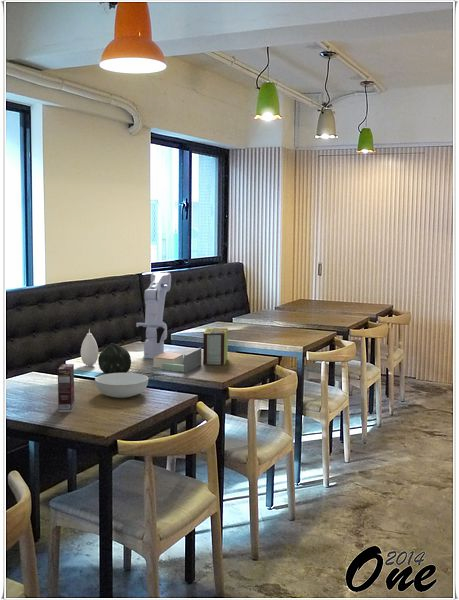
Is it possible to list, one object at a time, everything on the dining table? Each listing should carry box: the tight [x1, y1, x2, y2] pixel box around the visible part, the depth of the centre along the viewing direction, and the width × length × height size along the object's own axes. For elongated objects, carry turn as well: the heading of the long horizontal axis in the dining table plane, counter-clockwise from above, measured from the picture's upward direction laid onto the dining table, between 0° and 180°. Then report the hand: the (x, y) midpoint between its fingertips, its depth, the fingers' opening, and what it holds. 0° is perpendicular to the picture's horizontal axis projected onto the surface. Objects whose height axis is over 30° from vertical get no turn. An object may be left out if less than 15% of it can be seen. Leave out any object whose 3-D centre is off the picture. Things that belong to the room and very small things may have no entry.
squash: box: [97, 342, 132, 375], centre depth 295 cm, size 14×15×15 cm
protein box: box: [202, 327, 229, 366], centre depth 323 cm, size 10×15×16 cm
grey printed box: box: [161, 347, 203, 373], centre depth 310 cm, size 12×18×8 cm
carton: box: [152, 351, 184, 369], centre depth 313 cm, size 10×12×5 cm
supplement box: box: [57, 363, 76, 413], centre depth 240 cm, size 9×5×16 cm, turn 5°
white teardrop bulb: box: [80, 328, 99, 368], centre depth 308 cm, size 8×8×18 cm
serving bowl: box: [94, 372, 149, 399], centre depth 261 cm, size 21×21×7 cm
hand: (150, 342), depth 314 cm, fingers open, 7 cm apart
